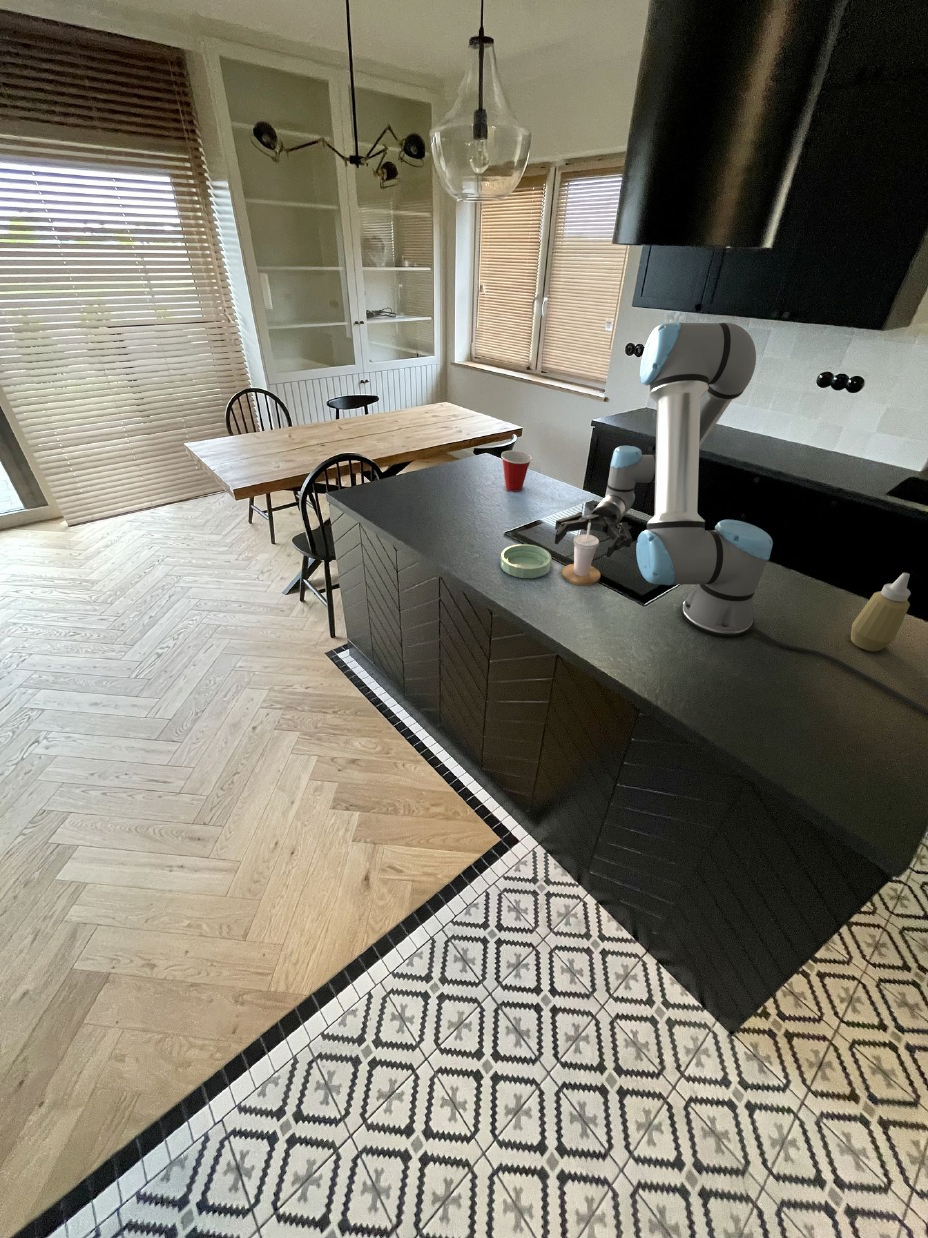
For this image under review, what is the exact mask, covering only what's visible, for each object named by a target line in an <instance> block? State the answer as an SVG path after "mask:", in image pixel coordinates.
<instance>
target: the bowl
mask: <svg viewBox="0 0 928 1238" xmlns="http://www.w3.org/2000/svg"><path fill="white" fill-rule="evenodd" d="M552 559H553V558H552V555H551V553H550V552H549V551H548V550H547V549H545V548H543V547H542V546H538V545H535V544H526V543H525V544H524V543H523V544H522V543H521V544H520V543H519V544H513V545H510V546H507V547H506V548H504V549H503V550H502V552H501V553H500V568H501V569H502V570H503V572H505V573H506V574H508V575H510V576H511V577H512V576H513V577H515V578H521V579H535V578H536V579H537V578H541V577H543V576H545V575H547V574H548V573H549V572H550V570H551V567H552Z"/></svg>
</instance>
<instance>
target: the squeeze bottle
mask: <svg viewBox="0 0 928 1238" xmlns="http://www.w3.org/2000/svg"><path fill="white" fill-rule="evenodd" d="M910 575H911V574H910V573H908V572H902V574H900V575H899V577H897V579H895V581H893V583H885V584H884V585H883V587H882V589H881V591H876V592H874V593H873V594H872V596H871V597H870V598H869V600H868V601H867V602H866V604H865V605H864V606H863V608H862V610H861V611H860V612H859V614H858V615H857V616H856V618H855V619H854V621H853V622H852V623H851V634H850V640H851V642H852V643H853V644H854V646H856V647H858V648H860V649H862V650H865V651H869V652H879V651H881V650H883V649H884V648H886V647H887V646H888V645H890V644H891V643H892V642H894V641H895V640H896V637H897V635H898V633H899V631H900V628H901V626H902V624H903V622H904V619H905V618H906V615H907V612H908V610H909V608H910V606H911V603H910V602H909V600H908V599H909V597H910V596H911V594H912V593H911V591H910V590H909V588H908V583H909V579H910Z"/></svg>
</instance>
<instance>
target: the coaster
mask: <svg viewBox="0 0 928 1238" xmlns="http://www.w3.org/2000/svg"><path fill="white" fill-rule="evenodd" d="M561 577H562V578H563V579H564V580H565V581H566V582H568V583H570V584H573V585H578V586H591V585H595V584H597V583H598V582H599V581H600V579H601V572H600V570H599V569H598V568H596V567H595V566H592V565H591V566H590V570H589V573H588V575H586V576H578V575H576V574H575V573H574V563H569V564H567V565H565V566H564V567H563V568H562V570H561Z"/></svg>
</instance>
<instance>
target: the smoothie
mask: <svg viewBox="0 0 928 1238" xmlns="http://www.w3.org/2000/svg"><path fill="white" fill-rule="evenodd" d="M590 526H591V523H589V524H588V525H587V527H588V530H587V531H586V534H585V533H581V534H577V535H575V536H574V537H573V540H572V542H573V545H574V547H573V552H574V553H573V564H574V573H575V574H576V575H578V576H586V575H588V573H589V570H590V566H592V563H593V560H594V556H595V553H596V550H597V548H598V547H599V544H600V540H599V539H598V538H597V536H594V535H592V534H590V531H591V530H590Z"/></svg>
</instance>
